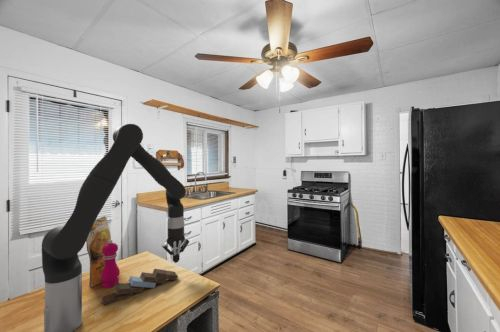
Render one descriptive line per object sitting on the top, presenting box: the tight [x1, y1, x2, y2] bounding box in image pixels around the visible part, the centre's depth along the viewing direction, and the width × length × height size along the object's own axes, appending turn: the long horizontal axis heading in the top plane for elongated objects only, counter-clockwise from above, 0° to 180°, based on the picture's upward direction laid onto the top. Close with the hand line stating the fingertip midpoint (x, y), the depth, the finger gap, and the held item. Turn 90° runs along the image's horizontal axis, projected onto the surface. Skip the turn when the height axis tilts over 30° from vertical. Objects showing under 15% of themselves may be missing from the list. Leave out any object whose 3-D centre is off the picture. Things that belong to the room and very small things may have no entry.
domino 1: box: [101, 292, 134, 307], centre depth 87 cm, size 2×5×10 cm
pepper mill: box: [101, 239, 121, 289], centre depth 97 cm, size 7×7×20 cm
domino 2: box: [113, 282, 145, 295], centre depth 89 cm, size 2×5×10 cm
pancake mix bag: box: [85, 215, 112, 288], centre depth 102 cm, size 7×19×28 cm, turn 3°
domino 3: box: [128, 275, 157, 289], centre depth 93 cm, size 2×5×10 cm
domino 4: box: [139, 271, 168, 285], centre depth 96 cm, size 2×5×10 cm
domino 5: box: [152, 268, 179, 281], centre depth 99 cm, size 2×5×10 cm
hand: (175, 261), depth 102 cm, fingers closed
